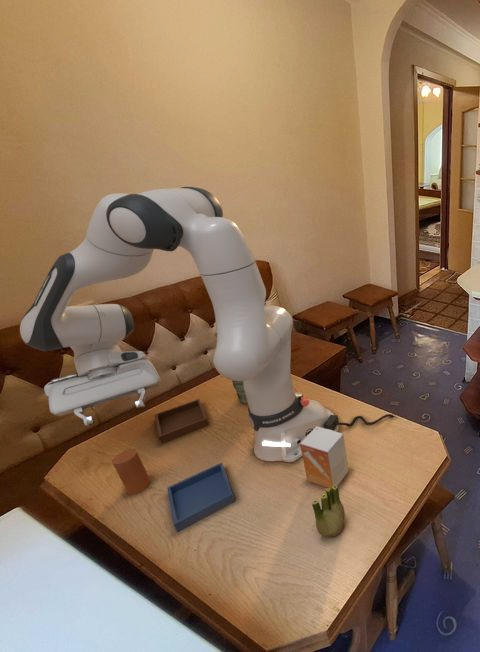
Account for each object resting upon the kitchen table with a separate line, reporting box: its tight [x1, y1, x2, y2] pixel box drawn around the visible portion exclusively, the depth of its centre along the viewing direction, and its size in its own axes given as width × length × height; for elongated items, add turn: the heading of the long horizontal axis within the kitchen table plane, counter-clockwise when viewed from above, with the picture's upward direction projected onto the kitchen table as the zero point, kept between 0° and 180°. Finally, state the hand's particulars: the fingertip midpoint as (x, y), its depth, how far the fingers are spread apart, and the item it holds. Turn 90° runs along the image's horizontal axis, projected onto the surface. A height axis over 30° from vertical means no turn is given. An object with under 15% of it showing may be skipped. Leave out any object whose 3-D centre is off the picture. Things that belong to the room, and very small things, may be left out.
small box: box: [300, 427, 350, 489], centre depth 89 cm, size 8×6×13 cm
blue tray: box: [166, 461, 236, 533], centre depth 85 cm, size 11×12×2 cm
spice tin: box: [111, 448, 151, 495], centre depth 86 cm, size 4×4×10 cm
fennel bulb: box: [311, 484, 346, 538], centre depth 77 cm, size 6×5×12 cm
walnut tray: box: [154, 398, 209, 445], centre depth 107 cm, size 11×12×2 cm
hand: (116, 415), depth 89 cm, fingers open, 8 cm apart
